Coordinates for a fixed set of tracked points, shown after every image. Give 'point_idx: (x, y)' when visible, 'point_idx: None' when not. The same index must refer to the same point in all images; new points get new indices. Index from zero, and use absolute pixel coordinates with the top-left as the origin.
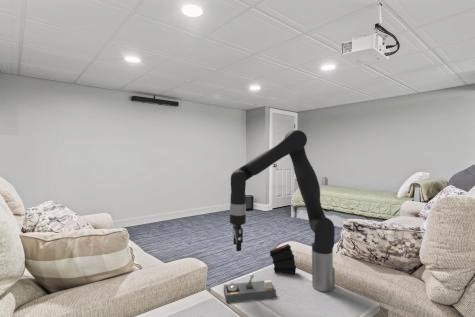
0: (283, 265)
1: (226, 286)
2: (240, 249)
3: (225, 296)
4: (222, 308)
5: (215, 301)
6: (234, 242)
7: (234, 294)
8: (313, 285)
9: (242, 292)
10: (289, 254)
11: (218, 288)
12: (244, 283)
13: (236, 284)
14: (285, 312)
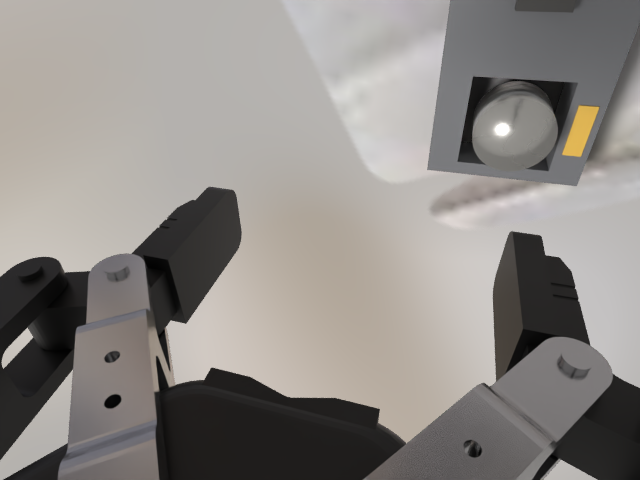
0: None
1: (456, 157)
2: (566, 269)
3: None
4: (624, 197)
5: (526, 214)
6: (227, 252)
7: (597, 131)
8: None
9: (606, 64)
10: None
11: (386, 169)
12: (463, 8)
13: (507, 103)
14: None
